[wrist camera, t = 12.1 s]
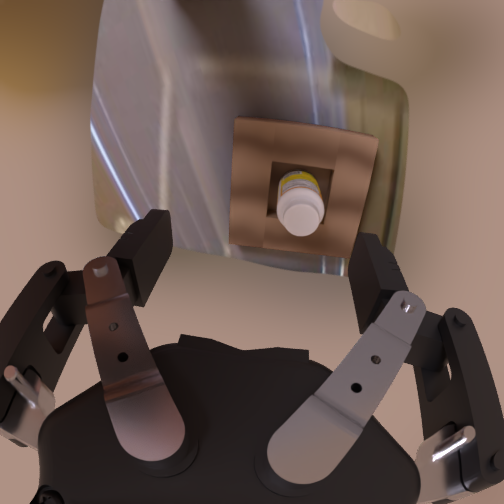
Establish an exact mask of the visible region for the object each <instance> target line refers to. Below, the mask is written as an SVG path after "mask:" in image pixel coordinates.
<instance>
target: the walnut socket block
mask: <svg viewBox="0 0 504 504" xmlns="http://www.w3.org/2000/svg"><path fill="white" fill-rule="evenodd" d="M378 142H379V140H378V139H377V138H376V137H374V136H373V135H369V134H364V133H360V132H355V131H350V130H344V129H339V128H333V127H327V126H321V125H315V124H308V123H301V122H293V121H285V120H276V119H266V118H255V117H242V116H238V117H237V118H235V119H234V136H233V155H232V175H231V198H230V223H229V244H235V245H243V246H252V247H260V248H268V249H276V250H285V251H293V252H301V253H309V254H317V255H326V256H334V257H342V258H350V255H351V252H352V248H353V245H354V241H355V238H356V234H357V231H358V227H359V223H360V219H361V216H362V212H363V208H364V204H365V200H366V196H367V192H368V188H369V184H370V179H371V175H372V170H373V166H374V161H375V157H376V152H377V147H378ZM296 169H301V170H305V171H308V172H309V173H311V174H312V175H313V176H314V177H315V178H316V180H317V182H318V185H319V189H320V192H321V196H322V200H323V204H324V216H323V219H322V221H321V222H320V224H319V225H318V227H317V229H316V230H315V231H314V232H313V233H312V234H310V235H307V236H296V235H293V234H291V233H290V232H289V231H288V230H287V229H286V228H285V227H284V226H283V225H282V224H281V222H280V221H279V219H278V216H277V198H278V186H279V182H280V180H281V178H282V177H283V176H284V175H285V174H286V173H287V172H289V171H291V170H296Z"/></svg>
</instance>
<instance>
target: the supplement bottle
mask: <svg viewBox="0 0 504 504" xmlns="http://www.w3.org/2000/svg"><path fill="white" fill-rule="evenodd" d="M277 216H278V219H279V221H280V222H281V224H282V225H283V226H284V227H285V228H286V229H287V230H288V231H289V232H290V233H291V234H293V235H296V236H307V235H310V234H312V233H313V232H314V231H315V230H316V229H317V227H318V225H319V224H320V222H321V221H322V219H323V216H324V204H323V200H322V196H321V192H320V189H319V185H318V182H317V180H316V178H315V177H314V176H313V175H312V174H311V173H309V172H308V171H305V170H301V169H296V170H291V171H289V172H287V173H286V174H285V175H284V176H283V177H282V178H281V180H280V182H279V186H278V198H277Z"/></svg>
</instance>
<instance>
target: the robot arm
mask: <svg viewBox="0 0 504 504" xmlns="http://www.w3.org/2000/svg"><path fill="white" fill-rule="evenodd" d="M172 247H173V239H172V228H171V217H170V212H169V211H168V210H158V209H151V210H150V211H149V213H148V214H147V215H146V216H145V218H144V219H139V220H138V221H136V222H134V223H133V224H131V225H130V226H129V228H128V229H127V230H126V231H125V233H124V234H123V235H122V236H121V239H119V240H118V241H117V243H116V244H115V245H114V246H113V248H112V249H111V250H110V252H109V253H108V254H107V256H102V257H97V258H95V259H93V260H91V261H89V262H88V263H87V264H86V265H85V266H84V268H83V270H80V271H69V272H67V270H66V267H65V265H64V263H62V262H61V261H51V262H48V263H45V264H44V265H42V266H41V267H40V268H39V269H38V270H37V271H36V272H35V274H34V275H33V276H32V278H31V279H30V280H29V282H28V283H27V285H26V286H25V287H24V288H23V290H22V292H21V293H20V294H19V296H18V297H17V298H16V300H15V301H14V303H13V304H12V306H11V307H10V308H9V310H8V311H7V313H6V314H5V316H4V318H3V319H2V321H1V323H0V435H2V436H3V437H5V438H7V439H9V440H10V441H12V442H13V443H15V444H16V445H18V446H20V447H28V446H29V447H31V448H33V449H35V450H37V451H38V454H39V465H40V479H39V487H38V490H37V493H36V495H35V496H34V498H33V500H32V501H31V502H30V504H425V503H430V502H431V503H433V504H447V503H450V502H453V501H456V500H459V499H462V498H464V497H467V496H470V495H472V494H475V493H477V492H479V491H482V490H484V489H487V488H489V487H491V486H493V485H495V484H498V483H500V482H501V481H503V480H504V418H503V414H502V410H501V406H500V402H499V398H498V394H497V391H496V387H495V384H494V380H493V377H492V374H491V371H490V367H489V364H488V362H487V359H486V356H485V353H484V350H483V347H482V344H481V342H480V339H479V337H478V334H477V331H476V329H475V326H474V324H473V322H472V320H471V318H470V317H469V316H468V315H467V314H466V313H465V312H464V311H462V310H460V309H458V308H449V309H447V311H446V312H445V313H444V315H443V316H441V315H438V314H435V313H432V312H429V311H426V306H425V304H424V302H423V301H422V299H420V298H419V297H418V296H417V295H415V294H414V293H412V292H409V290H408V287H407V285H406V282H405V280H404V277H403V275H402V273H401V272H400V268H399V266H398V265H397V261H396V259H395V257H394V255H393V254H392V253H391V252H390V251H389V250H388V249H387V248H386V247H382V245H381V243H380V241H379V238H378V236H377V235H376V234H371V233H364V232H359V233H358V235H357V238H356V242H355V245H354V248H353V252H352V255H351V258H350V261H349V266H348V277H349V281H350V285H351V290H352V295H353V300H354V304H355V310H356V314H357V320H358V326H359V331H360V334H363V335H362V336H361V338H360V339H359V340H358V342H357V343H356V344H355V345H354V347H353V348H352V349H351V351H350V352H349V353H348V354H347V356H346V357H345V358H344V359H343V361H342V362H341V363H340V364H339V366H338V367H337V368H336V369H335V370H334V372H333V371H331V370H330V369H328V368H327V367H325V366H324V365H322V364H320V363H317V362H315V361H312V360H309V350H303V349H290V348H280V347H274V348H265V349H255V350H240V349H237V348H234V347H232V346H229V345H226V344H224V343H221V342H218V341H216V340H213V339H208V338H202V337H196V336H190V335H184V334H181V335H180V338H179V341H178V343H172V344H165V345H161V346H158V347H156V348H153V349H151V350H149V347H148V345H147V342H146V340H145V337H144V335H143V333H142V330H141V327H140V325H139V322H138V319H137V317H136V314H135V311H134V309H133V306H139V307H144V306H145V304H146V302H147V300H148V298H149V296H150V294H151V292H152V290H153V288H154V286H155V284H156V282H157V280H158V278H159V276H160V274H161V272H162V270H163V268H164V266H165V264H166V263H167V261H168V259H169V257H170V255H171V252H172ZM50 311H51V312H52V314H53V317H52V319H51V320H50V322H49V324H48V325H47V328H46V329H45V331H44V332H43V323H44V321H45V319H46V317H47V316H48V314H49V312H50ZM85 324H88V327H89V332H90V337H91V341H92V346H93V350H94V354H95V358H96V362H97V366H98V370H99V374H100V378H101V381H100V382H98V383H97V384H95V385H94V386H92V387H90V388H89V389H87V390H86V391H84V392H82V393H81V394H79V395H77V396H76V397H74V398H73V399H71V400H69V401H68V402H66V403H65V404H63V405H62V406H60V407H58V408H56V409H54V408H55V397H54V394H53V392H54V389H55V387H56V385H57V382H58V379H59V377H60V375H61V373H62V370H63V368H64V366H65V364H66V362H67V359H68V357H69V355H70V353H71V351H72V349H73V347H74V344H75V343H76V341H77V339H78V336H79V334H80V332H81V330H82V328H83V327H84V325H85ZM403 362H404V363H408V364H411V365H413V368H414V373H415V378H416V384H417V390H418V396H419V403H420V410H421V418H422V427H423V436H424V442H422V444H421V445H420V446H419V448H418V450H417V456H416V459H415V461H413V459H412V458H411V457H410V456H409V455H408V454H407V452H406V451H405V450H404V449H403V448H402V447H401V446H400V445H399V444H398V443H397V442H396V440H395V439H394V438H393V437H392V436H391V435H390V434H389V433H388V432H387V430H386V429H385V428H384V427H383V426H382V425H381V424H380V423H379V422H378V420H377V419H376V418H375V417H374V416H373V415H372V414H373V413H374V411H375V410H376V408H377V407H378V405H379V403H380V401H381V400H382V399H383V397H384V395H385V394H386V392H387V390H388V389H389V387H390V385H391V384H392V382H393V380H394V379H395V377H396V375H397V373H398V371H399V370H400V368H401V366H402V364H403ZM448 363H449V365H450V369H451V374H452V375H451V380H450V376H449V372H448V368H447V364H448Z"/></svg>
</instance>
